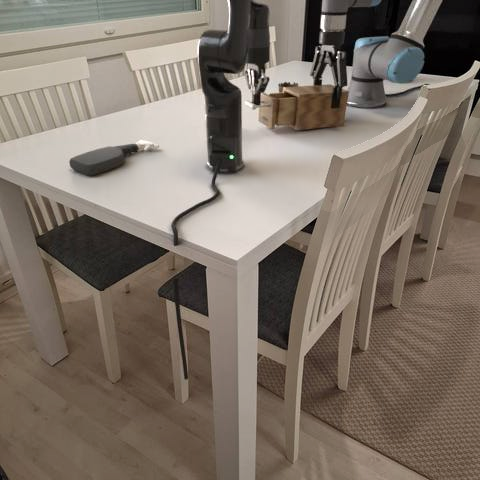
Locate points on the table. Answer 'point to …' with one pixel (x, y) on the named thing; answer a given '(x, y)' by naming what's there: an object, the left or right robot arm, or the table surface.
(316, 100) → the cabinet
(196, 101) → the table surface
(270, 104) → the drawer
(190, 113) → the table surface
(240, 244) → the table surface
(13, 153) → the table surface
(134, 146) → the spray bottle
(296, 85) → the cup
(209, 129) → the left robot arm
